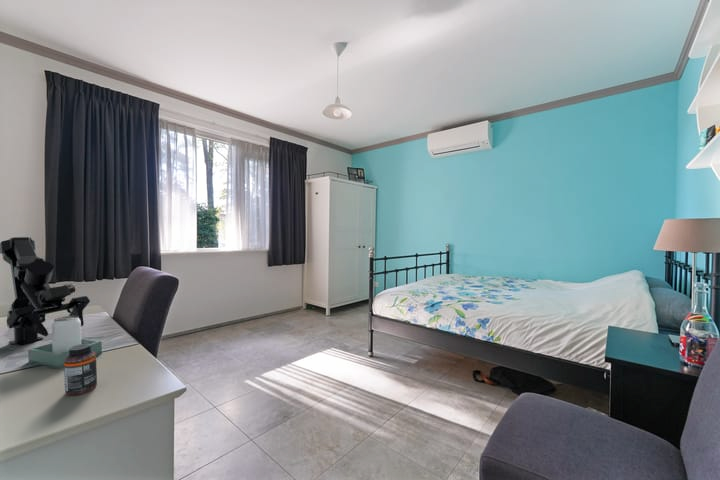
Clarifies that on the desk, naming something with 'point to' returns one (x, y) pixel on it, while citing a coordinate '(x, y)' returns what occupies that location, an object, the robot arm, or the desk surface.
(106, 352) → the desk surface
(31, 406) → the desk surface
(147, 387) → the desk surface
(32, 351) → the tray
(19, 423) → the desk surface
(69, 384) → the supplement bottle
